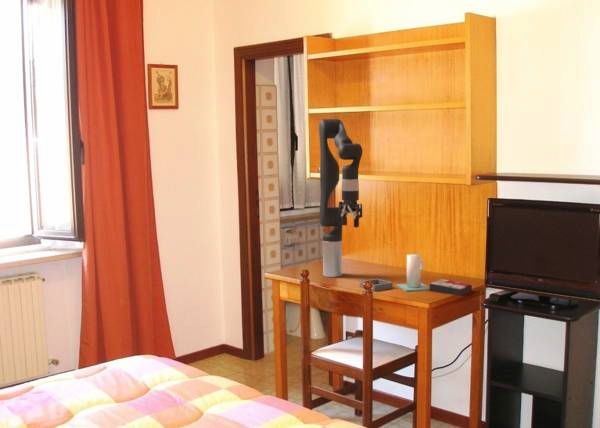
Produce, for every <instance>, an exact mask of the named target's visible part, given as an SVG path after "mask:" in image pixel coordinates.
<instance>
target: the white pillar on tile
mask: <svg viewBox="0 0 600 428" xmlns="http://www.w3.org/2000/svg"><path fill="white" fill-rule="evenodd" d="M424 263H425V262H424V259H421V254H417V253H409V254H406V284H407V287H411V288H418V287H420V283H421V272H424V269H425V267H424V266H425V265H424Z"/></svg>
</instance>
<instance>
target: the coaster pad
mask: <svg viewBox="0 0 600 428" xmlns="http://www.w3.org/2000/svg"><path fill="white" fill-rule="evenodd" d="M395 285H396V287H398V288H400V289H401V290H403V291H404V292H418V291H419V292H421V291H422V292H423V291H429V290H430V286H428V285H427V284H424V283H423V282H420V287H418V288H411V287H407V283H398V284H395Z"/></svg>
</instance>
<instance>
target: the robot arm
mask: <svg viewBox="0 0 600 428" xmlns="http://www.w3.org/2000/svg"><path fill="white" fill-rule="evenodd" d="M318 133H319V134H318V137H319V149H320V150H319V151H320V154H319V155H320V156H319V157H320V160H319V161H320V163H319V180H320V181H319V182H320V184H319V185H320V199H319V200H320V201H319V215H318V216H319V224H320V226H321V227H324V228H325V227H326V228H327V227H328V228H329V227H333V228H332V229H331V230H330V231H328V232H325V233H324V234H323V235H322V276H323V277H328V278H338V277H341V276H343V226H347V225H348V214H351V216H352V218H353V228H359V226H360V219H361V218H363V204H362V203H358V201H359V199H360V184H359V168H360V167H359V166H360V163H361V158H362V157H363V147H362V145H361V144H360V143H354V142H353V141H352V139H351V138H350V137H349V136H348V133H347V130H346V128H345V126H344V123H343V122H342V120H341V119H337V118H322V119H321V120H320V121H319V124H318ZM328 139H329V140H330V139H333V141H334V145H335V147H336V148H337V155H338V157H339V159H341V160H343V161H352V162H351V163H350V164H347V165H343V166H342V169H341V200H342V201H339V202H338V206H335V207H334V206H333V207H329V202H330V198H331V196H332V194H333V192H334V191H335V189H336V187H337V186H338V184H339V182H340V165H339V163H338V161H337V160H336V158H335V156H334V154H333V153H332V151H331V149H330V147H329V144H328V143H329V142H328Z"/></svg>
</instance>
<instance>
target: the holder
mask: <svg viewBox="0 0 600 428" xmlns="http://www.w3.org/2000/svg"><path fill="white" fill-rule="evenodd" d="M365 281H371V282H372V283H373V289H372V290H373V292H378V291H382V290H390V289H393V287H394V286H393V285H394V284H393V283H394V282H393V281H388V280H385V279H381V278H373V279H366V280H359V287H360V286H361V287H360V288H362V286H363V283H364V282H365ZM372 290H371V291H372Z"/></svg>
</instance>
